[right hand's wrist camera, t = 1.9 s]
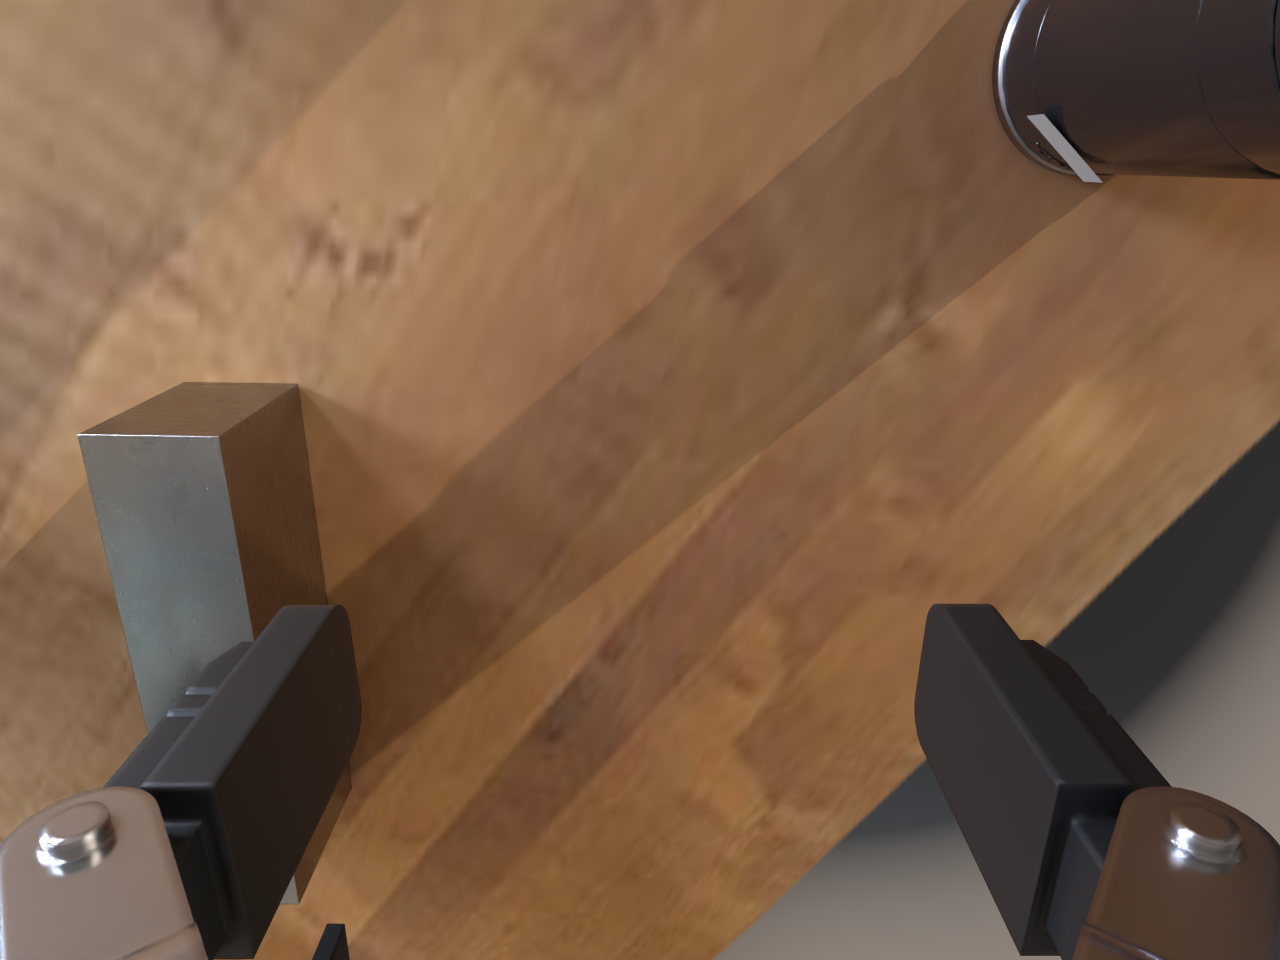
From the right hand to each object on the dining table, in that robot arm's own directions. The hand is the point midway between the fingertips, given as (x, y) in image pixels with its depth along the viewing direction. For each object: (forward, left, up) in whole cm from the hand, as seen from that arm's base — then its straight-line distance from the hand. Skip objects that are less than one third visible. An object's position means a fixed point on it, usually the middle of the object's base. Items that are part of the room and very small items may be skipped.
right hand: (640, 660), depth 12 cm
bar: (+21, -15, -31) cm, 40 cm away
